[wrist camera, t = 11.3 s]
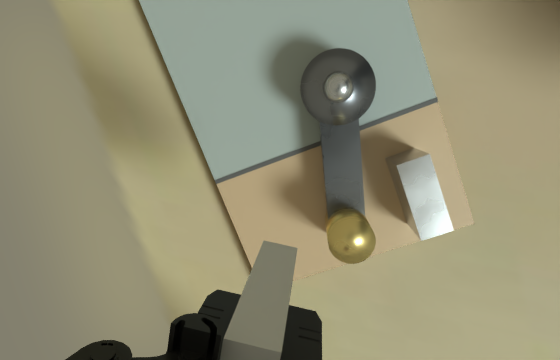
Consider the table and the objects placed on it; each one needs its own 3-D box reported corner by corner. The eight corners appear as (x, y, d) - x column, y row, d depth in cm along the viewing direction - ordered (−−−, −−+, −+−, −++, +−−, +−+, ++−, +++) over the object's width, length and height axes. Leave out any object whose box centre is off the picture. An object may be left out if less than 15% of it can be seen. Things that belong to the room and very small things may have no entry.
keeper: (414, 147, 24) (429, 154, 21) (435, 214, 25) (453, 230, 22) (385, 158, 24) (396, 165, 21) (407, 224, 25) (421, 240, 22)
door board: (360, -133, 22) (363, -147, 21) (466, 218, 26) (474, 223, 25) (134, -24, 24) (125, -31, 23) (263, 283, 28) (261, 291, 27)
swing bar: (297, 59, 23) (295, 49, 19) (366, 50, 23) (378, 38, 19) (315, 241, 26) (316, 266, 22) (377, 236, 25) (390, 260, 21)
